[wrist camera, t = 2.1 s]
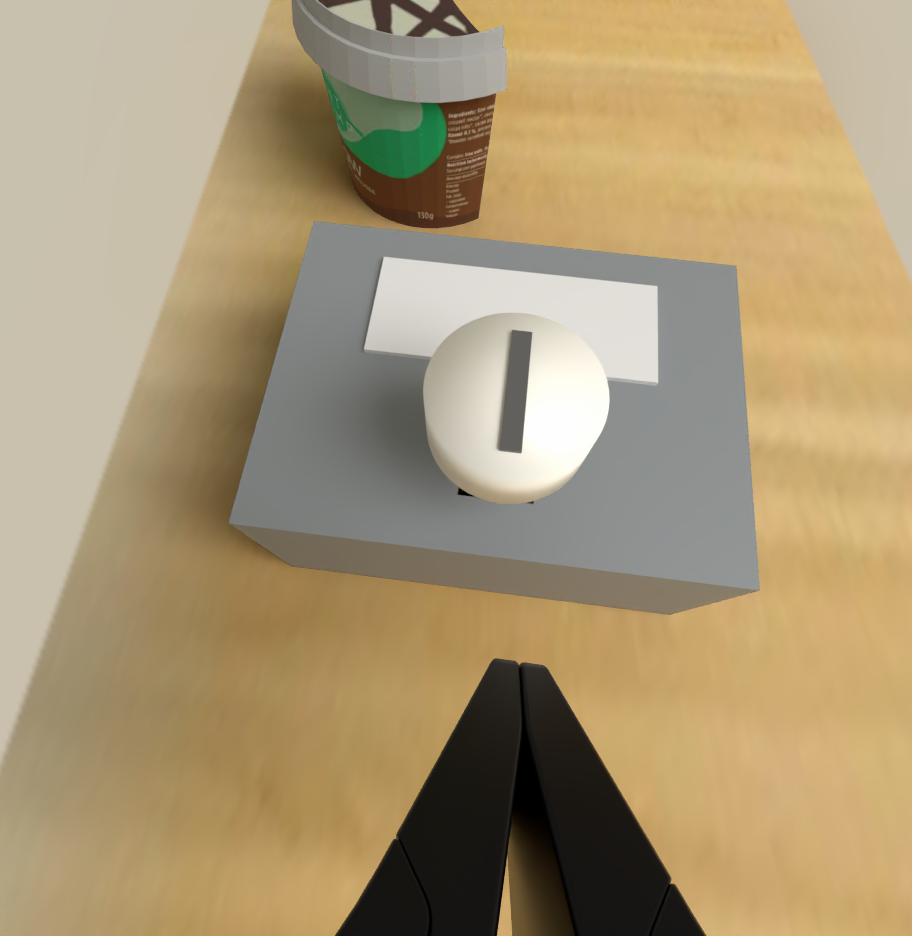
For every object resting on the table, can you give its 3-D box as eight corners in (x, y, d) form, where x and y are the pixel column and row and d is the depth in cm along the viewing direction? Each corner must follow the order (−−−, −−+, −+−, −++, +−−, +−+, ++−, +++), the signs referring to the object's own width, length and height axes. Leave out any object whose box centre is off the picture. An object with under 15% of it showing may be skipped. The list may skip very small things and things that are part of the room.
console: (669, 614, 23) (763, 589, 16) (291, 566, 23) (225, 521, 16) (666, 365, 27) (738, 261, 20) (346, 329, 27) (312, 217, 21)
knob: (556, 547, 18) (608, 487, 12) (422, 531, 18) (409, 463, 12) (564, 425, 19) (612, 320, 13) (440, 411, 19) (436, 301, 14)
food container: (295, 134, 32) (231, -87, 23) (387, 99, 33) (362, -125, 24) (392, 282, 28) (364, 90, 19) (492, 236, 30) (512, 34, 20)
